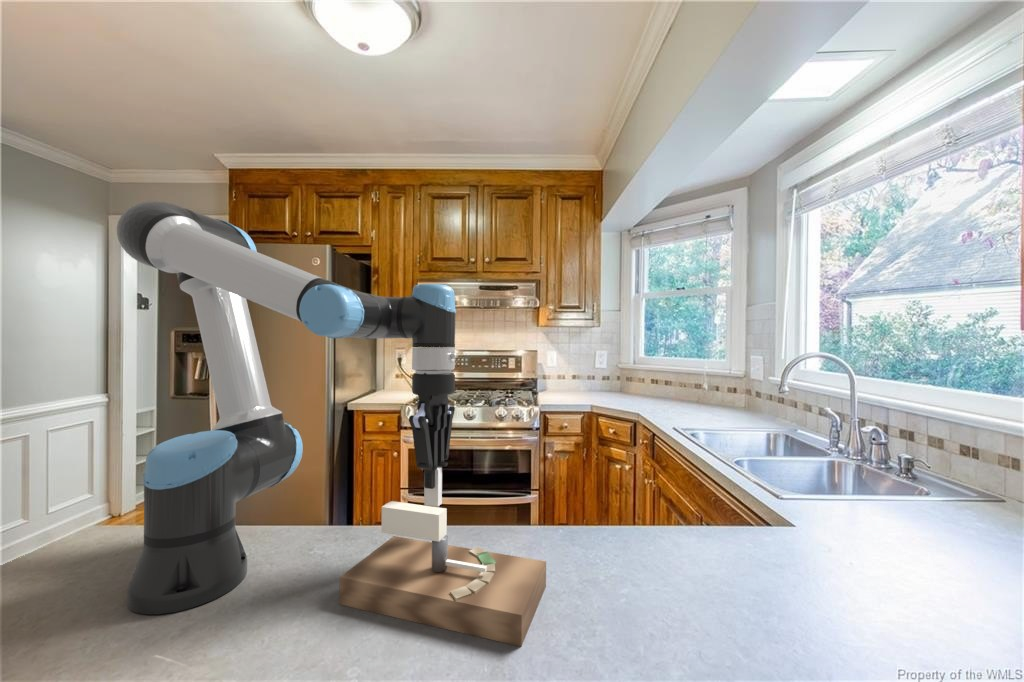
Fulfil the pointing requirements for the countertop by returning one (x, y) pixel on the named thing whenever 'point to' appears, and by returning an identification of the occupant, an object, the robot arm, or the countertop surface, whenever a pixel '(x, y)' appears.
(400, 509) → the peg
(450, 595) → the board
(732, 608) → the countertop surface
